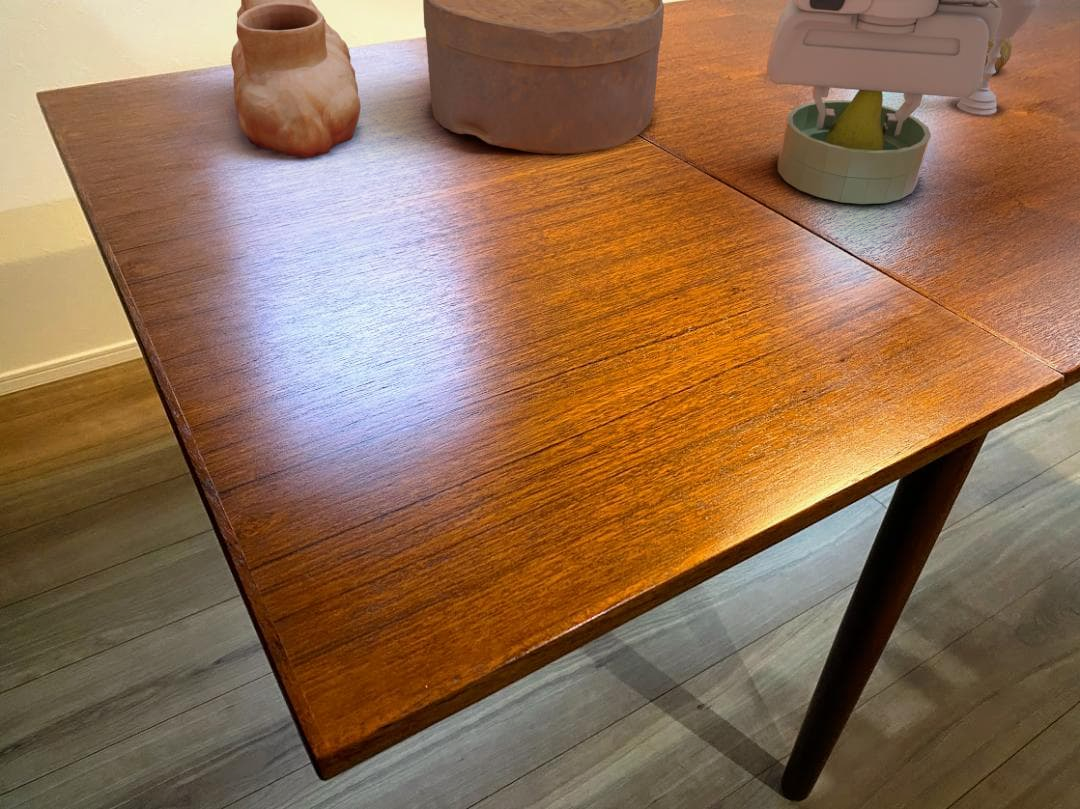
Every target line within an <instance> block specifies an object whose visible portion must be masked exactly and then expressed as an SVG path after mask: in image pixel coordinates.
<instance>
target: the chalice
mask: <svg viewBox="0 0 1080 809" xmlns="http://www.w3.org/2000/svg"><path fill="white" fill-rule="evenodd" d="M997 1H998V2H999V3H1000V5H1001V8H1002V17H1001V20H1000V23H999V26H998V30H997V32H996V34H995V35H994V45H993V47H992V48H991V50H990V52H989V53H988V54H987V56H988V63H987V64H986V66H985V67H984V71H983V75H982V79H981V83H980V86H979V88H978V89H977V90H976V91H975V92H974V93H973V94H971V95H970V96H969V97H967V98H959V99H960V100H959V101H958V103H957V104H956V107H957V108H958V109H959V110H961V111H963V112H966V113H969V114H973V115H974V114H975V115H984V116H985V115H986V116H987V115H993V114H995V113H997V111H998V110H997V105H998V104H997V101H996V100H997V96H996V93H995V92H994V91H992V90H990V89H991V87H990V86H989V85H990V81H991V79H992V77H993V75H994V74H996V73H997V71H996V70H995V63H996V61H997V59H998V58H999V57H1001V55H1000V48H1001V44H1002V43H1003V41H1004V39H1007V38H1009V39H1010V38H1013V37H1014V36H1015V35H1016V34H1017V32H1018V31H1019V30H1020V29H1021V28H1022V26H1023V25H1024V24H1025V23H1026V22H1027V20H1029V18H1030V17H1031V15H1032V14H1033V12H1034V11H1035V9H1036V8H1037V7H1038V5H1039V4H1040V2H1041V0H997ZM987 6H994V5H993V4H992V3H989V5H987Z"/></svg>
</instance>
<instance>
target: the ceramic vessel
mask: <svg viewBox="0 0 1080 809" xmlns="http://www.w3.org/2000/svg"><path fill="white" fill-rule="evenodd" d="M236 17H237V19H236V36H237V42H236V43H235V44H234V45H233V48H232V51H231V56H230V57H231V58H230V63H231V67H232V70H233V91H234V96H233V97H234V98H233V99H234V103H235V106H236V109H237V112H238V120H237V121H238V125H239V127H240V129H241V130H242V132H243V134H244V135H245V137H246V138H247V139H248V141H249V142H250V143H251V145H253V146H254V147H257V148H261V149H263V150H267V151H272V152H278V153H281V154H285V155H288V156H290V157H296V158H314V157H318V156H322V155H323V156H324V155H326V154H329V153H330V152H331V150H332V149H333V148H335V147H336V146H337V145H340V144H344V143H346V142H349V141H351V140H352V139H353V137H354V134H355V131H356V127H357V125H358V122H359V118H360V114H361V101H360V97H359V88H358V82H357V80H356V70H355V69H354V66H353V65H352V62H351V54H350V49H349V47H348V45H347V42H346V41H345V40H344V39H342V37H341V36H340V34H339V33H338V32H337V31H336V30H335V29H333V28H332V26H330V25H329V24H328V23H327V21H326V19H325V16H324V15H323V14H322V12H321V11H320V10H319V9H318V7H317V6H316V5H315V3H314V2H313V1H312V0H240V7H239V8H238V10H237V12H236Z"/></svg>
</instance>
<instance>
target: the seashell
mask: <svg viewBox="0 0 1080 809" xmlns="http://www.w3.org/2000/svg"><path fill="white" fill-rule="evenodd" d="M993 45H994V37H993V38H992V39H991V40H990V41H989V42H988V49H987V54H988V53H989V52H990V50H991V48H992V47H993ZM1012 48H1013V46H1012V41H1011V39H1010V38H1007V39H1004V41H1003V43H1002V44H1001V48H1000V55H1001V57H999V58H998V59H997V61H996V63H995V70H996V72H998V71H1000V70H1001V69H1003V68H1004V67H1005V65H1006V64H1007V63H1008V61H1009V60H1010V59H1011V58H1010V57H1011V55H1012V50H1013V49H1012ZM987 63H988V56H986V61H985V66H986V64H987ZM985 66H984V67H985Z"/></svg>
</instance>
